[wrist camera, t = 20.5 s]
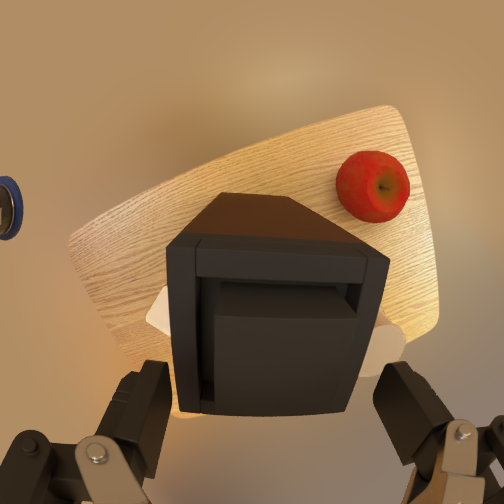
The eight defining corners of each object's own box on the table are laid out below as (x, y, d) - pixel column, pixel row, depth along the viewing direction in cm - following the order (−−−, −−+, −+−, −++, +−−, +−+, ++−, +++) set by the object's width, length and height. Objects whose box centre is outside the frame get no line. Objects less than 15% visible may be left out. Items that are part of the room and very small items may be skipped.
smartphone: (165, 284, 38) (253, 338, 40) (166, 282, 38) (252, 336, 41) (143, 320, 39) (226, 369, 42) (144, 317, 40) (226, 366, 42)
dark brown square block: (219, 371, 13) (214, 415, 10) (220, 280, 12) (214, 315, 9) (316, 372, 13) (330, 413, 10) (335, 285, 12) (360, 318, 9)
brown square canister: (218, 257, 37) (179, 412, 12) (221, 192, 35) (165, 246, 10) (282, 260, 38) (344, 412, 12) (288, 196, 36) (391, 258, 10)
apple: (367, 144, 34) (409, 137, 23) (387, 201, 36) (431, 213, 26) (313, 165, 34) (341, 162, 24) (335, 223, 37) (368, 244, 26)
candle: (333, 322, 41) (368, 386, 27) (304, 295, 39) (334, 358, 25) (366, 292, 40) (415, 346, 25) (339, 262, 38) (388, 311, 24)
